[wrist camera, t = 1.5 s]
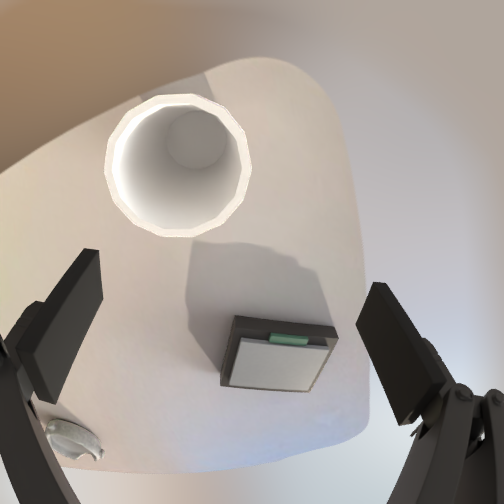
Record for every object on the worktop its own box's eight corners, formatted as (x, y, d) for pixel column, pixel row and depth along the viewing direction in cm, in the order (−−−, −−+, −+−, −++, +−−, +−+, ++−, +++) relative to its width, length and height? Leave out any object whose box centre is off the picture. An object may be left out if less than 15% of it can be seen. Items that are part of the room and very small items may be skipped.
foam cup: (133, 133, 29) (78, 161, 18) (204, 74, 27) (186, 62, 16) (191, 201, 33) (170, 262, 22) (262, 148, 31) (281, 183, 20)
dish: (112, 441, 57) (108, 459, 53) (86, 451, 61) (82, 466, 56) (58, 409, 51) (52, 427, 47) (38, 422, 55) (32, 438, 51)
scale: (334, 326, 43) (340, 342, 40) (307, 381, 48) (310, 396, 46) (234, 315, 41) (235, 331, 38) (220, 374, 46) (220, 390, 43)
